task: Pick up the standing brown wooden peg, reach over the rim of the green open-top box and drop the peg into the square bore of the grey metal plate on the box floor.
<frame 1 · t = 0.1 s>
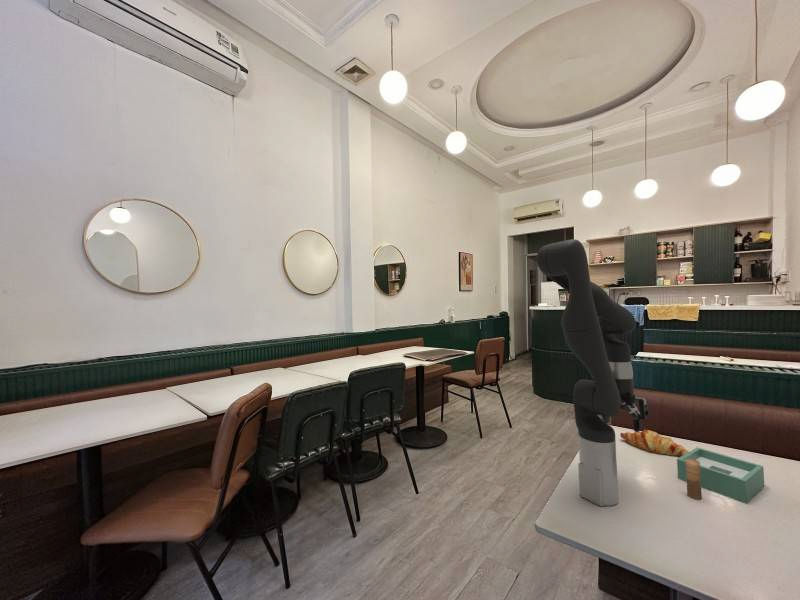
hand: (621, 426, 99), 17 cm above the table, tool pointing down, fingers open, 8 cm apart
croissant: (653, 450, 119), on the table
peg: (694, 496, 90), on the table
box: (719, 482, 96), on the table
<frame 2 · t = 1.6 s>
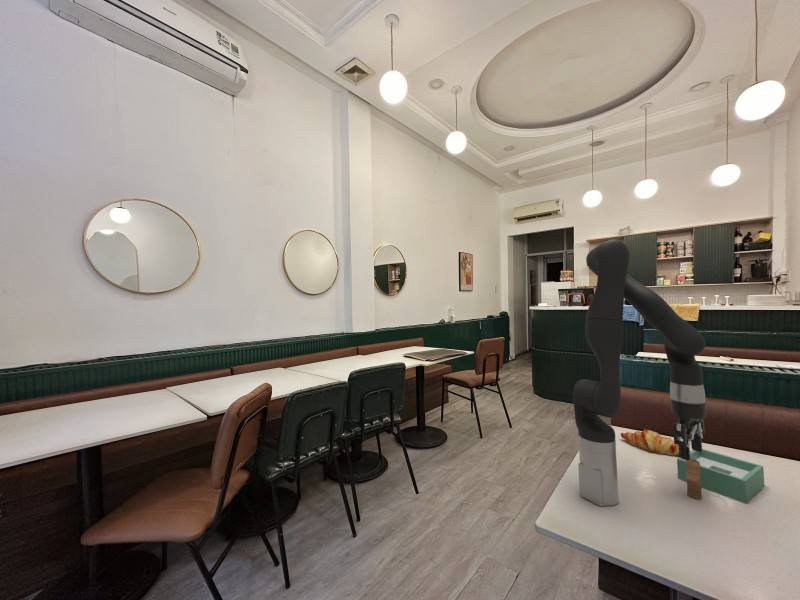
hand: (691, 454, 91), 11 cm above the table, tool pointing down, fingers open, 8 cm apart
nothing on the table moved.
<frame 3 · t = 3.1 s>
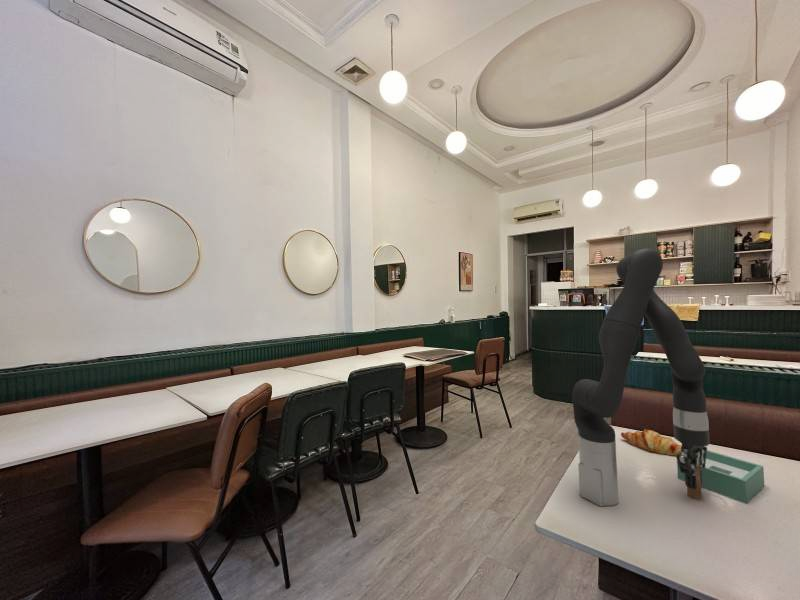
hand: (693, 485, 90), 3 cm above the table, tool pointing down, fingers closed on peg, 3 cm apart
peg: (694, 496, 90), on the table, touching gripper
everything else where it was.
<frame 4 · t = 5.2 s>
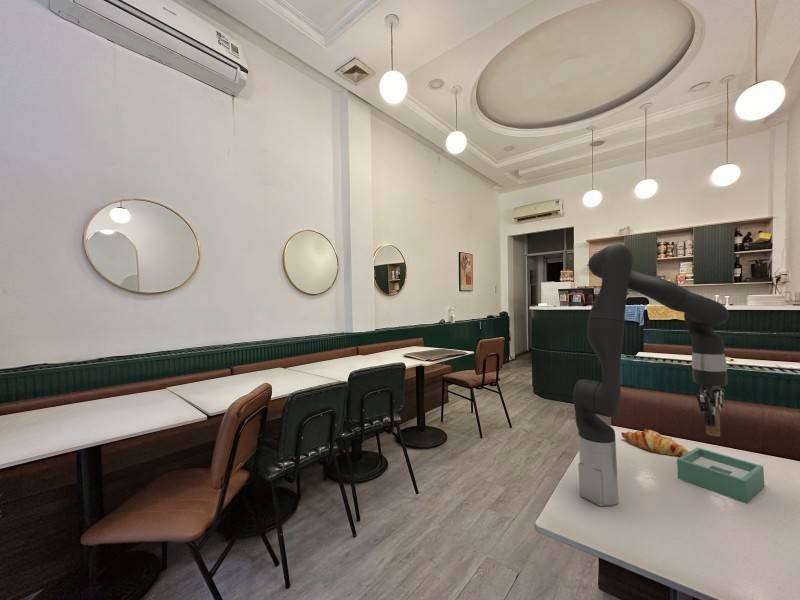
hand: (712, 424, 96), 18 cm above the table, tool pointing down, fingers closed on peg, 3 cm apart
peg: (713, 434, 96), point 15 cm above the table, touching gripper
everything else where it was.
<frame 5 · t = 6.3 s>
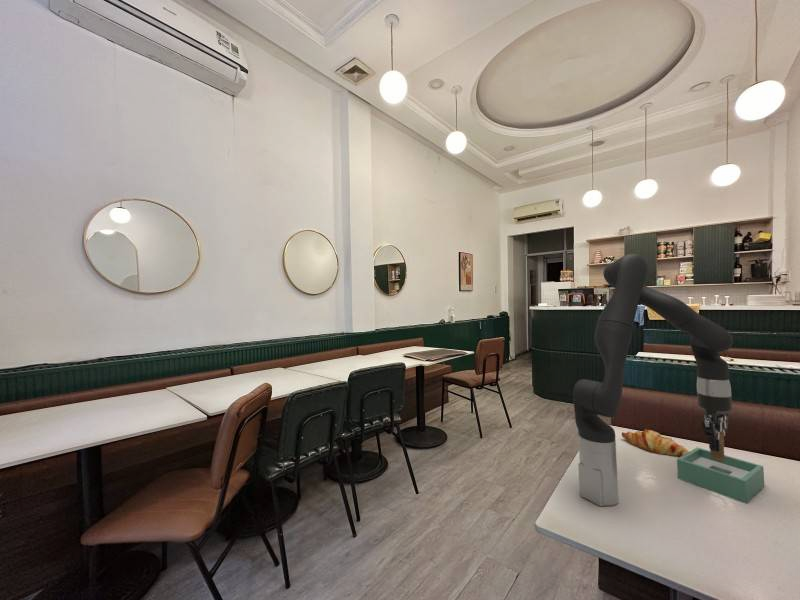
hand: (717, 448, 97), 10 cm above the table, tool pointing down, fingers closed on peg, 3 cm apart
peg: (717, 458, 97), point 7 cm above the table, touching gripper
everything else where it was.
when the fingers open (6 cm above the table, at t = 7.3 s): peg drops 1 cm, resting on box.
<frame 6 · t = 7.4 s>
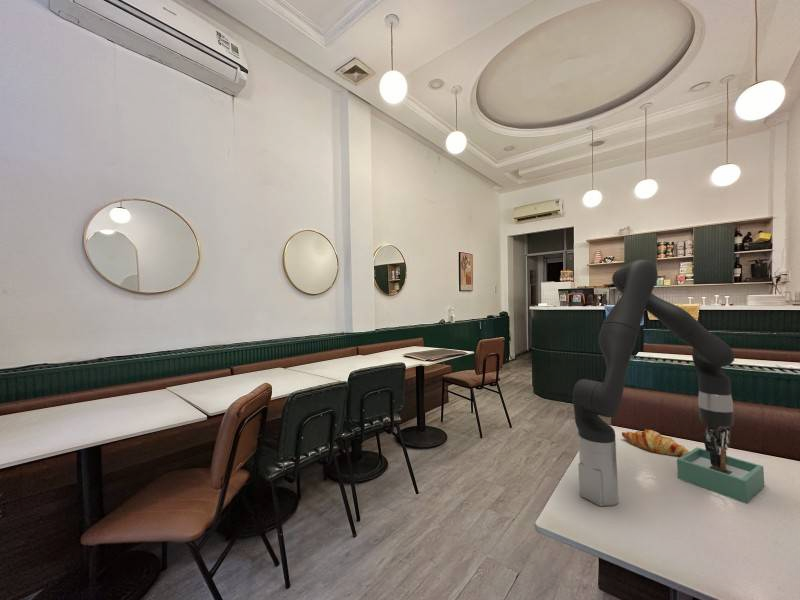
hand: (718, 463, 97), 6 cm above the table, tool pointing down, fingers open, 3 cm apart
peg: (719, 478, 97), point 1 cm above the table, touching box, gripper
everything else where it was.
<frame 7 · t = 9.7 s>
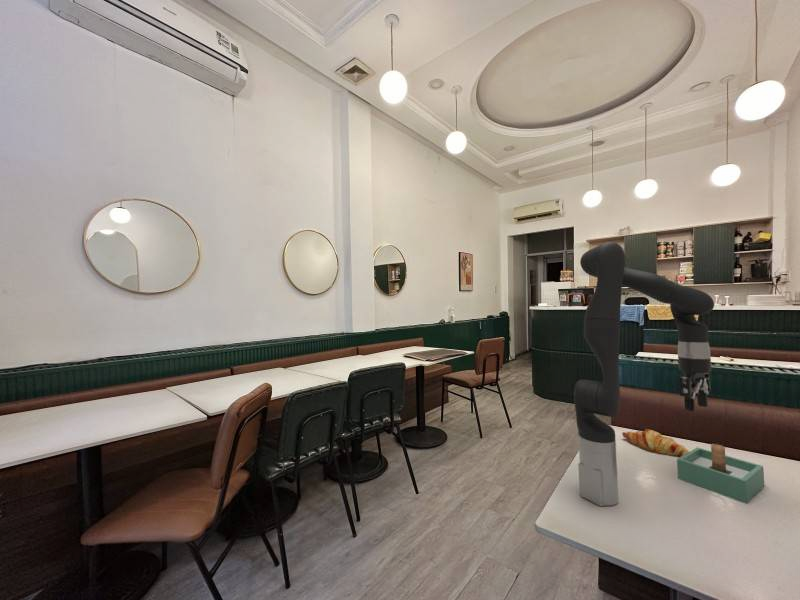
hand: (696, 408, 99), 22 cm above the table, tool pointing down, fingers open, 8 cm apart
peg: (719, 478, 97), point 1 cm above the table, touching box
everything else where it was.
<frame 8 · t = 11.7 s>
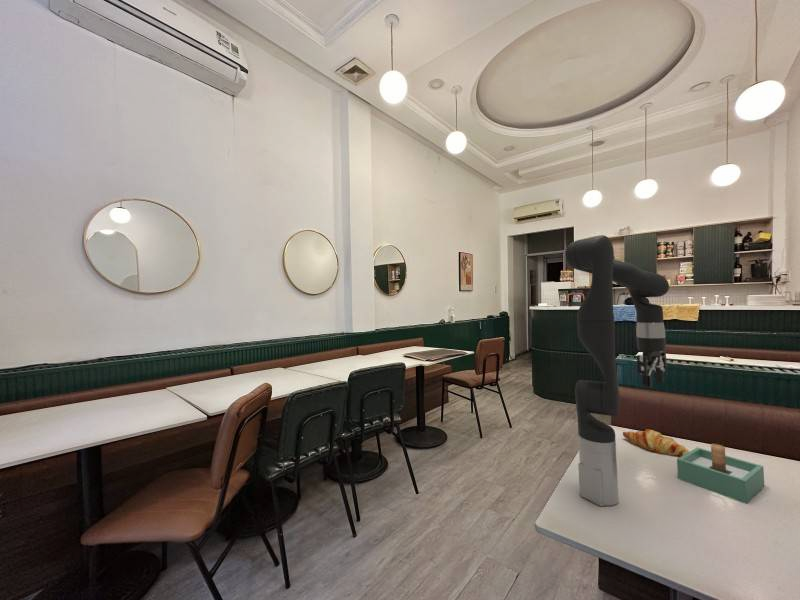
hand: (653, 384, 105), 28 cm above the table, tool pointing down, fingers open, 8 cm apart
nothing on the table moved.
at the end: peg 0.1 cm off-centre on the box, point 1.0 cm above the box's base; peg tilted 0°; the gripper is holding nothing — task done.
